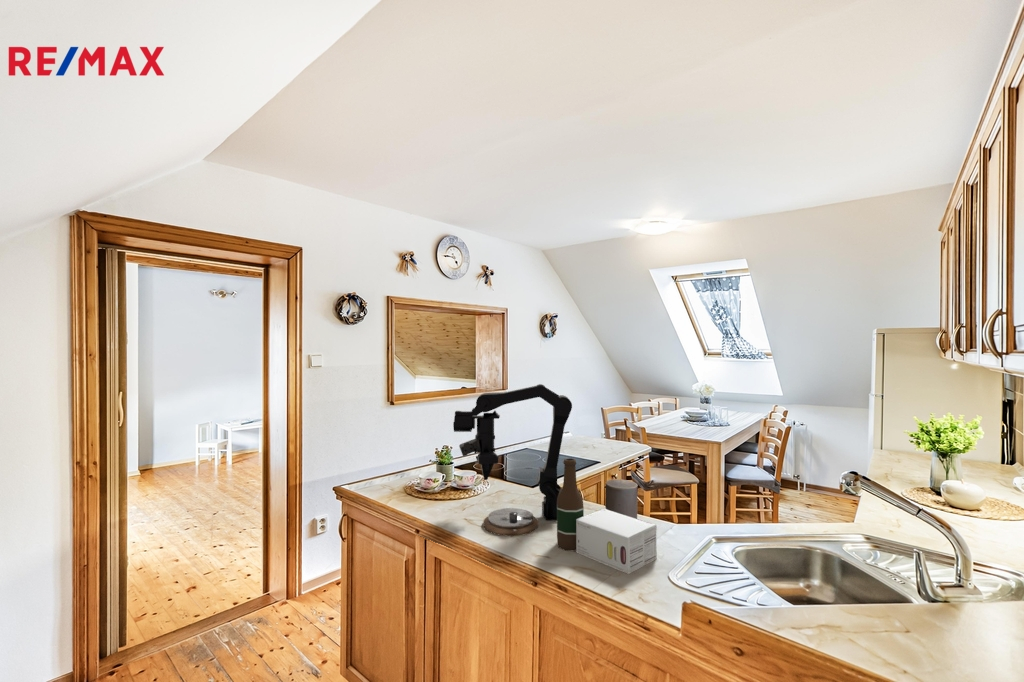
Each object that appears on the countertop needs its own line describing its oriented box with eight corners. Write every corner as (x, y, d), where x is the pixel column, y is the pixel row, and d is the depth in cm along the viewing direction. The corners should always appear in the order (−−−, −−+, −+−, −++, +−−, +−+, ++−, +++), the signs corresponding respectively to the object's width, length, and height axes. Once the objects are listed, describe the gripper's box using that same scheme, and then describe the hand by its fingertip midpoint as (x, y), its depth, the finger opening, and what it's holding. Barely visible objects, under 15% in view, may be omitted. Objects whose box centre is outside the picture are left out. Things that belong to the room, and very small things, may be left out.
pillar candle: (598, 527, 149) (598, 478, 149) (618, 519, 155) (618, 473, 155) (624, 537, 141) (625, 486, 141) (644, 529, 148) (644, 479, 148)
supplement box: (575, 553, 131) (574, 518, 131) (604, 540, 140) (604, 507, 140) (628, 575, 118) (628, 536, 118) (657, 559, 127) (657, 523, 127)
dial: (486, 513, 157) (486, 501, 157) (528, 511, 159) (528, 499, 159) (490, 529, 143) (490, 516, 143) (537, 527, 145) (537, 513, 145)
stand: (532, 514, 161) (532, 509, 161) (543, 533, 144) (543, 529, 144) (481, 517, 158) (481, 512, 158) (486, 537, 141) (486, 532, 141)
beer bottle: (587, 542, 137) (587, 457, 137) (579, 553, 130) (579, 463, 130) (561, 538, 141) (561, 455, 141) (552, 548, 133) (552, 461, 134)
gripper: (459, 427, 167) (459, 473, 167) (462, 437, 149) (462, 489, 148) (491, 426, 169) (491, 471, 169) (498, 436, 150) (498, 487, 150)
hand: (485, 479), depth 159 cm, fingers closed
